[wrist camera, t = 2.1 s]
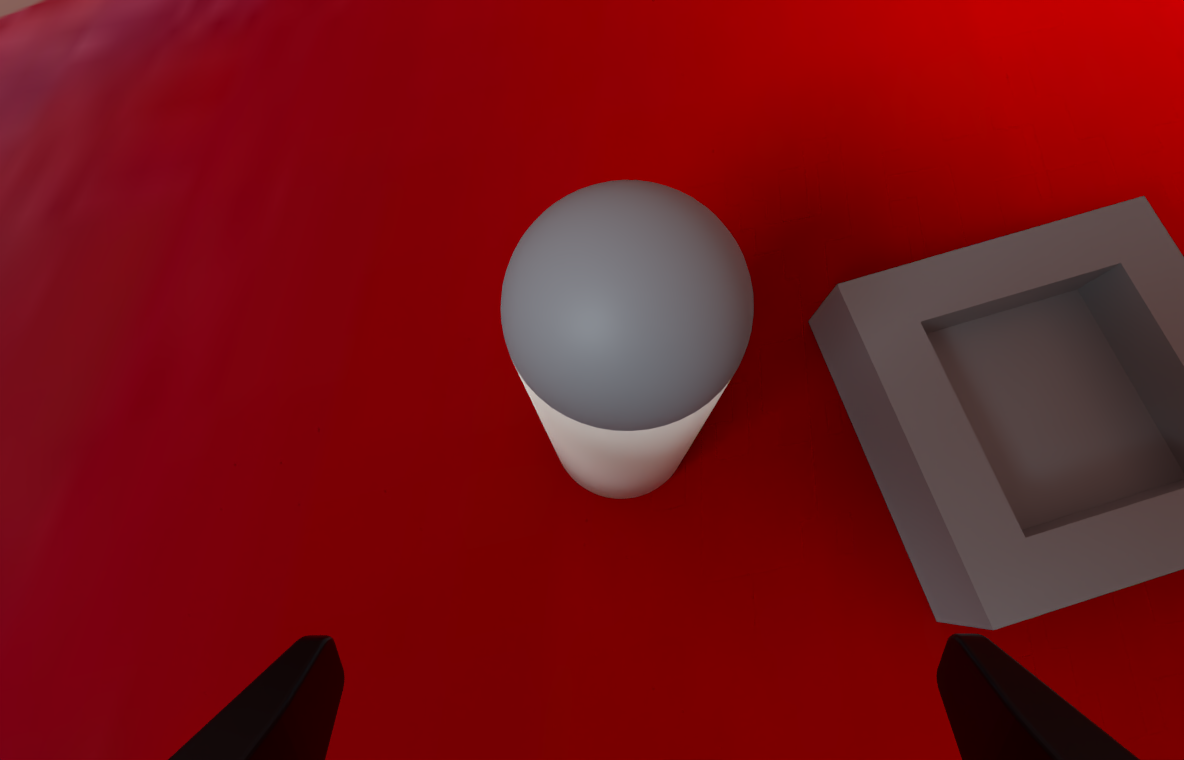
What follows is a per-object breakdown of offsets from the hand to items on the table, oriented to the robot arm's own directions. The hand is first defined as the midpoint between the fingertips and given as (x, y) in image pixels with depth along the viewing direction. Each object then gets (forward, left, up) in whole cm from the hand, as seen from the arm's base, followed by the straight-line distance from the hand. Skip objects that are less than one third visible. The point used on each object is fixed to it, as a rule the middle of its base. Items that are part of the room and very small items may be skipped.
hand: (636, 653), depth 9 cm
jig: (+2, -15, -12) cm, 20 cm away
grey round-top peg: (+6, -2, -12) cm, 14 cm away
